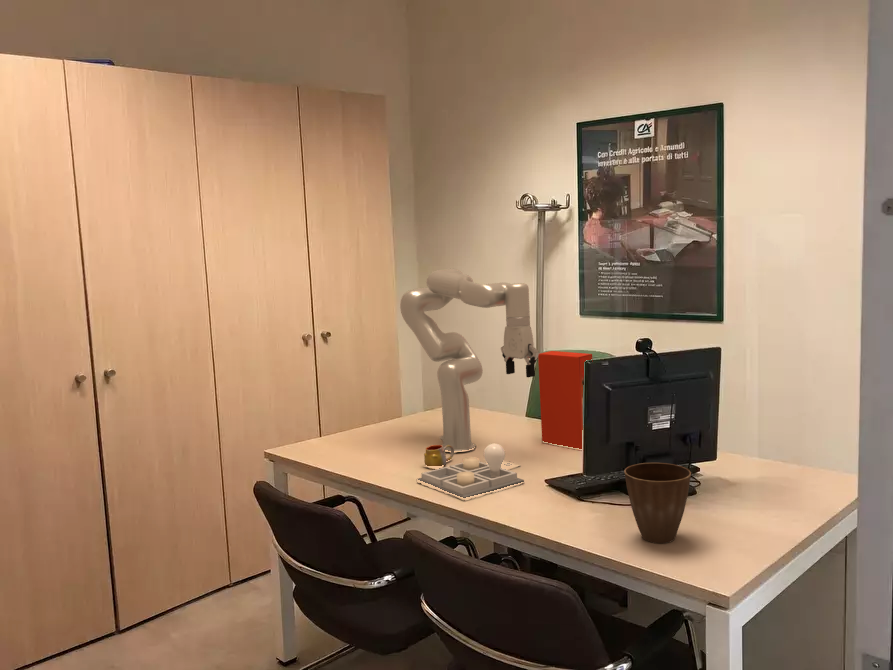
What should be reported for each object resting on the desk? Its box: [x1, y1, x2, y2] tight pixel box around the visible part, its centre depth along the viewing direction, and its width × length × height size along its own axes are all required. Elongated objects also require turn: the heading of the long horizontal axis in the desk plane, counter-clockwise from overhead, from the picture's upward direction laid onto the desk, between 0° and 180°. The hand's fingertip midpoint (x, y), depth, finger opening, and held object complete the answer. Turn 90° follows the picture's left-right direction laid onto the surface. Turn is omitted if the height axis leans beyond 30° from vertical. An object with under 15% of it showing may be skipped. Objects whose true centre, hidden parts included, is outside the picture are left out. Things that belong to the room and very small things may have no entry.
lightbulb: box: [483, 442, 506, 478], centre depth 227 cm, size 6×6×11 cm
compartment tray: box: [417, 456, 525, 498], centre depth 230 cm, size 24×22×5 cm
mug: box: [423, 444, 455, 466], centre depth 251 cm, size 12×7×7 cm, turn 131°
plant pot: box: [623, 462, 692, 544], centre depth 180 cm, size 15×15×16 cm
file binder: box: [537, 350, 593, 449], centre depth 266 cm, size 8×17×32 cm, turn 43°
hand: (520, 375), depth 247 cm, fingers open, 9 cm apart
